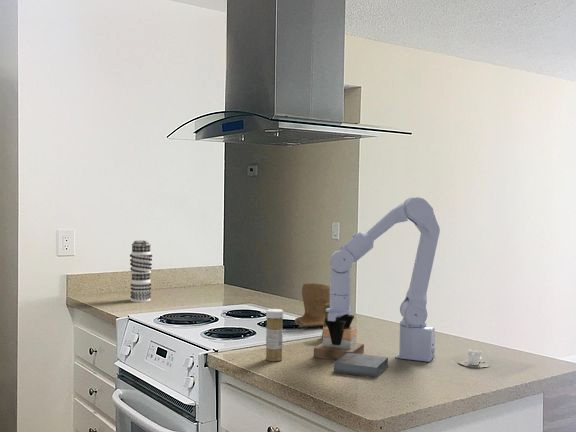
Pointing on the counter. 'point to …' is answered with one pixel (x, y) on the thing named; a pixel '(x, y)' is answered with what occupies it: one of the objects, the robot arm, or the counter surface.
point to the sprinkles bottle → (274, 334)
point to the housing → (346, 340)
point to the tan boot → (314, 304)
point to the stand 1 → (336, 351)
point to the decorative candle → (140, 271)
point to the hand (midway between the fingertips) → (339, 342)
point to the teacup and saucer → (474, 356)
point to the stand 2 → (361, 365)
